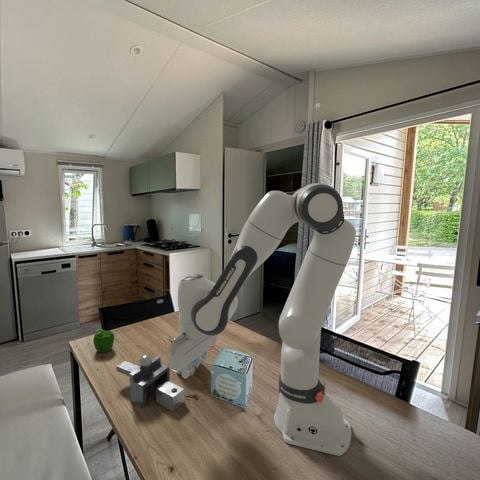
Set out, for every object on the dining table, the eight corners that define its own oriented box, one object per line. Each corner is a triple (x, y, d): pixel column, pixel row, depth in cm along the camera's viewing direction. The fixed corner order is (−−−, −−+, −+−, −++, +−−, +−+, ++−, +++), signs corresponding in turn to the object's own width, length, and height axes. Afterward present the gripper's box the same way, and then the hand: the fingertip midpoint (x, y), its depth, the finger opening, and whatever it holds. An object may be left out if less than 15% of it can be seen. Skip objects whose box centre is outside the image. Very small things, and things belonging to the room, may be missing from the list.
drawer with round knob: (169, 386, 105) (169, 351, 103) (143, 407, 94) (141, 369, 92) (134, 372, 113) (133, 339, 112) (106, 390, 102) (104, 355, 101)
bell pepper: (117, 345, 134) (116, 324, 133) (110, 354, 126) (109, 332, 125) (99, 345, 134) (98, 324, 133) (90, 354, 126) (89, 332, 125)
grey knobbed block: (184, 402, 97) (184, 388, 96) (173, 411, 93) (172, 396, 92) (167, 393, 101) (167, 379, 100) (156, 401, 97) (155, 387, 96)
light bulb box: (192, 376, 111) (191, 350, 109) (175, 374, 112) (175, 348, 111) (201, 361, 121) (201, 337, 120) (186, 359, 123) (185, 335, 121)
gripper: (179, 344, 78) (181, 391, 80) (219, 317, 96) (220, 356, 98) (161, 339, 81) (163, 384, 83) (204, 314, 99) (205, 352, 101)
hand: (194, 369), depth 90 cm, fingers open, 7 cm apart
